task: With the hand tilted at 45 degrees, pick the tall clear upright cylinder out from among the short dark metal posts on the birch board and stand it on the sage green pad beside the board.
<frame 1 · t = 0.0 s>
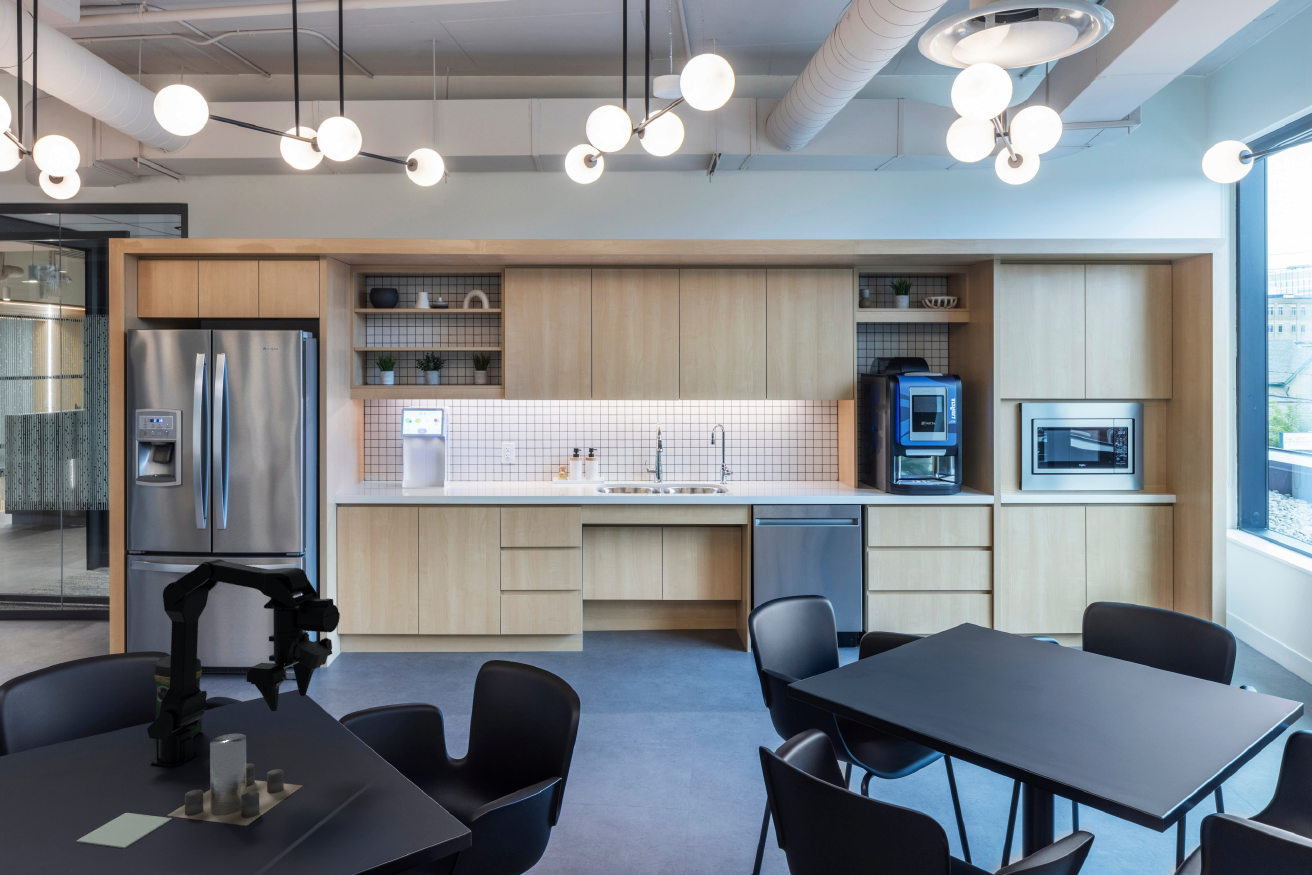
hand: (288, 702, 165), 15 cm above the table, tool pointing down, fingers open, 9 cm apart
coffee jar: (178, 735, 185), on the table
clear upright cylinder: (228, 807, 149), point 1 cm above the table, touching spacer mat
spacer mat: (237, 802, 152), on the table
sage pad: (125, 833, 140), on the table
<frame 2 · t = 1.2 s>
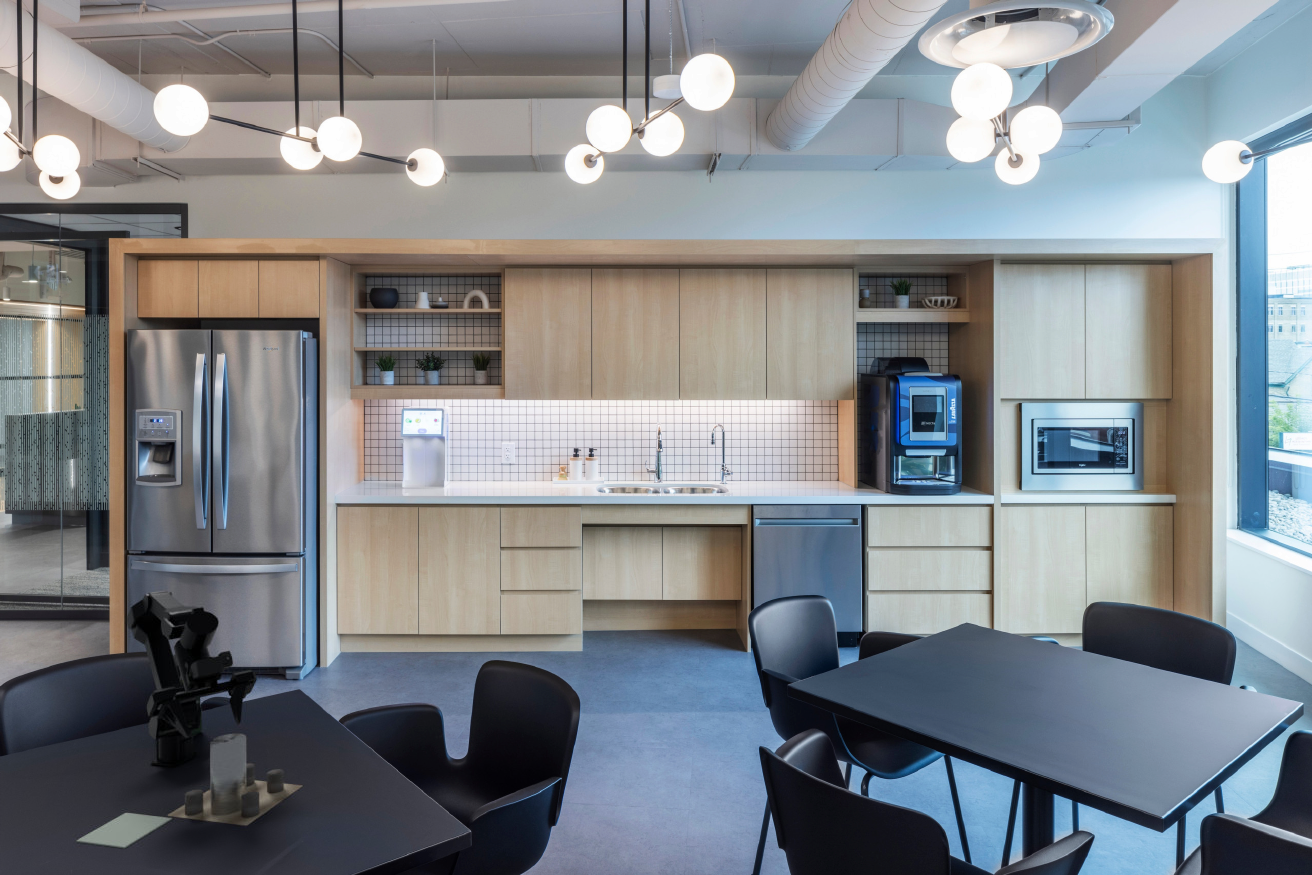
hand: (214, 729, 154), 13 cm above the table, tool tilted 45°, fingers open, 9 cm apart
nothing on the table moved.
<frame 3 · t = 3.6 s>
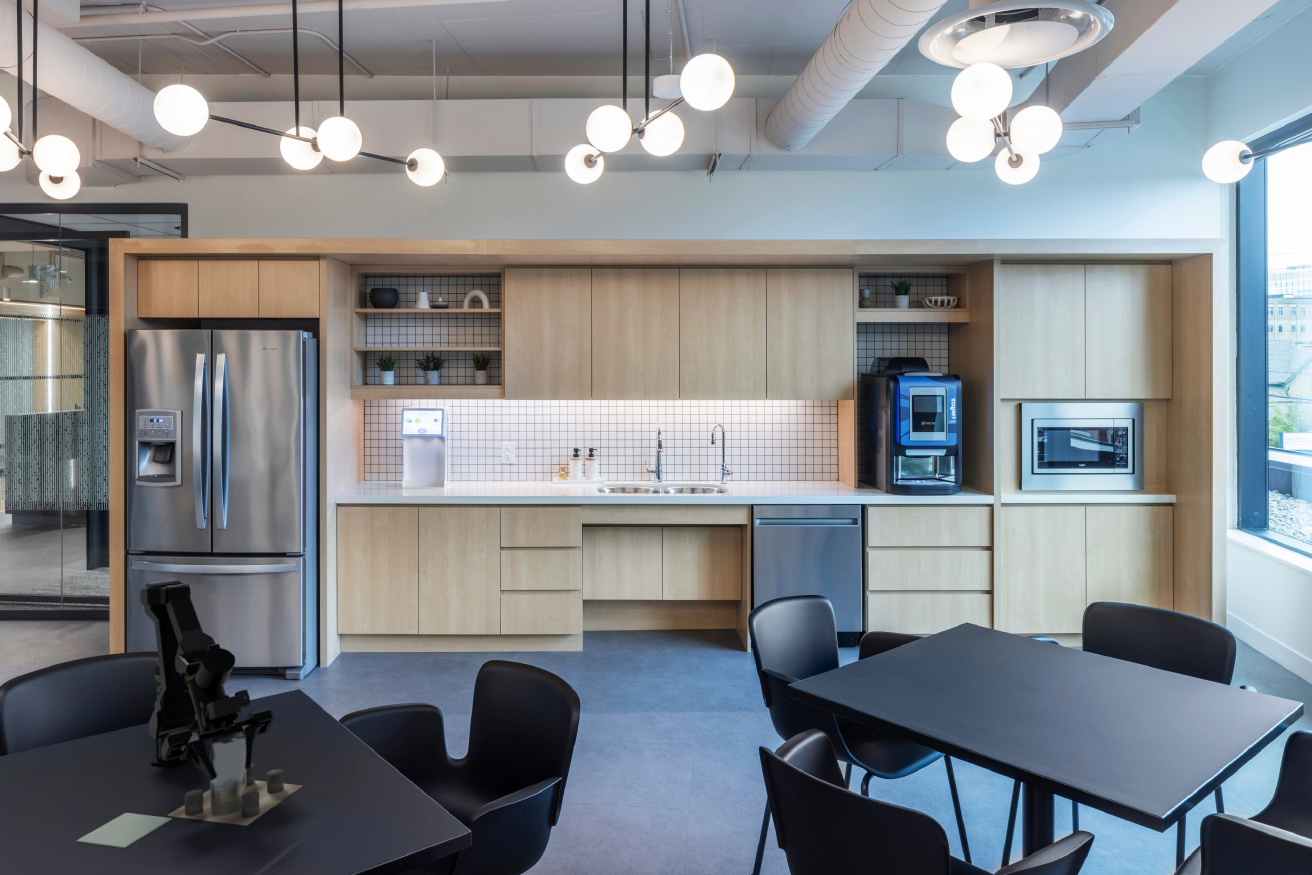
hand: (231, 773, 148), 8 cm above the table, tool tilted 45°, fingers closed on clear upright cylinder, 6 cm apart
clear upright cylinder: (228, 807, 149), point 1 cm above the table, touching gripper, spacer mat
everything else where it was.
when the fingers open (9 cm above the table, at t = 8.0 s): clear upright cylinder drops 1 cm, resting on sage pad.
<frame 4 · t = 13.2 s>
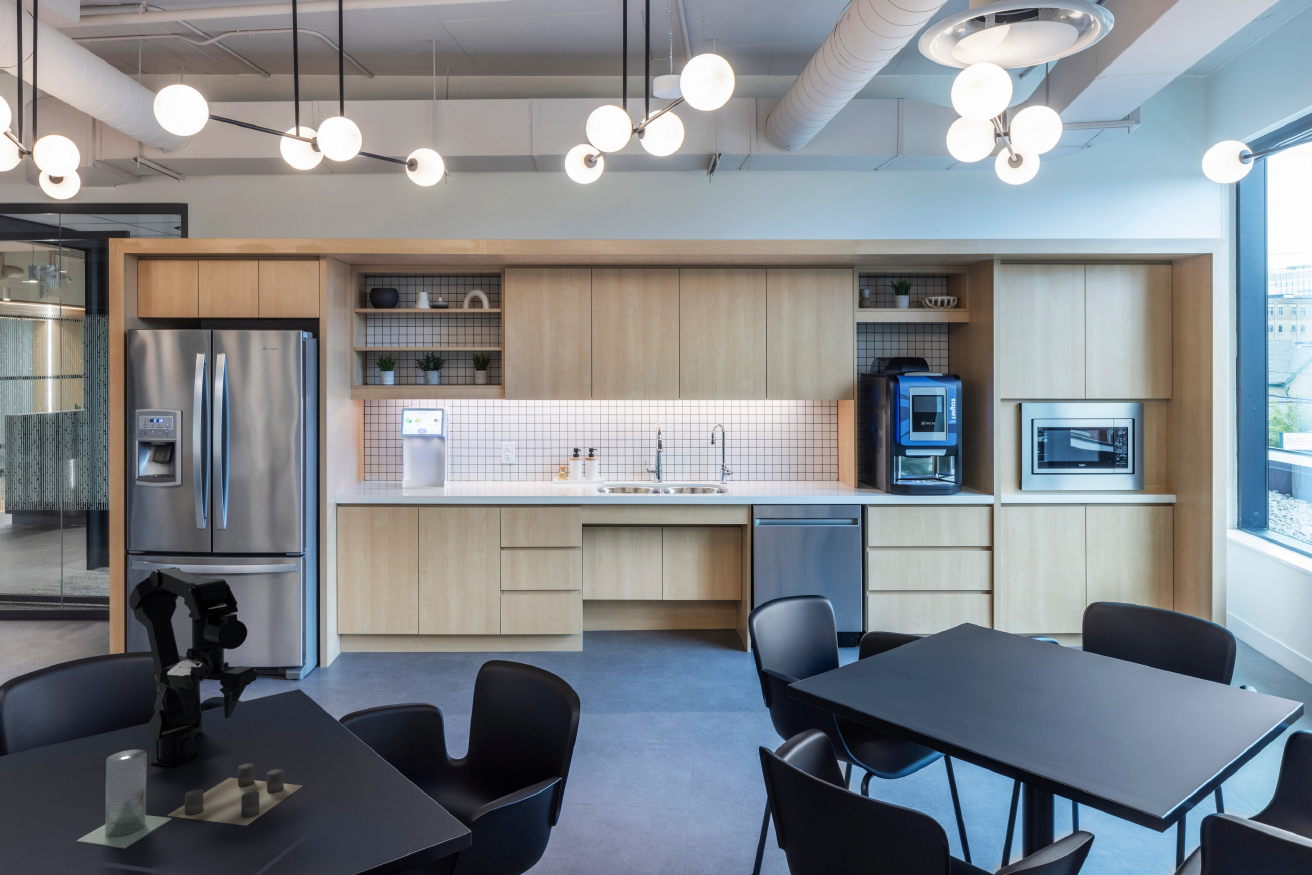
hand: (208, 715, 162), 13 cm above the table, tool pointing down, fingers open, 9 cm apart
clear upright cylinder: (125, 828, 141), point 1 cm above the table, touching sage pad
everything else where it was.
at the end: clear upright cylinder inside the target area on the sage pad (0.1 cm from its centre), point 0.9 cm above the sage pad's base; clear upright cylinder tilted 1°; the gripper is holding nothing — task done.
